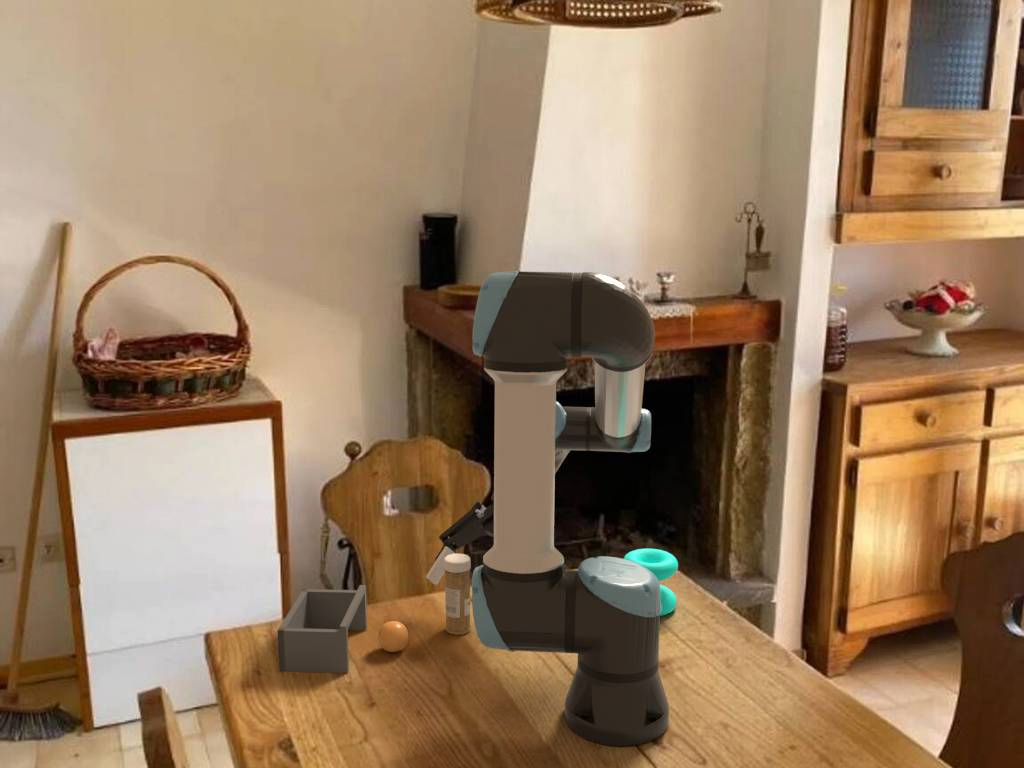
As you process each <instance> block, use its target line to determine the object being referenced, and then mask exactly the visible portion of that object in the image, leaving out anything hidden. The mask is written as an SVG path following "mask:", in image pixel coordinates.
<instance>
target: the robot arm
mask: <svg viewBox="0 0 1024 768" xmlns="http://www.w3.org/2000/svg"><path fill="white" fill-rule="evenodd" d="M474 312H475V313H474V316H473V317H474V318H473V325H472V335H471V336H472V348H471V349H472V352H473V355H475V356H478V357H483V370H484V372H486V373H487V374H488V376H489V377H490V378H492V380H493V381H494V442H493V443H494V450H493V453H494V455H493V456H494V458H493V459H494V460H493V465H494V466H493V471H494V472H493V474H494V475H493V476H494V477H493V493H492V495H491V503H490V505H488V507H485V506H484V505H483V504H482V503H481V502H480V501H477V502H475V504H473V506H472V507H471V508H470V510H469V511H468V512H466V513H465V514H464V515H463V516H462V517H460V518H459V519H458V520H456V522H454V523H453V524H452V525H450V527H448V528H447V529H446V530H445V531H444V532H442V533H441V534H440V535H439V536H438V537H439V540H440V541H441V542H442V545H443V546H442V548H441V549H440V551H439V552H438V554H437V555H436V557H435V558H434V562H433V564H432V566H431V567H430V570H429V571H428V572H427V573H426V575H425V578H426V579H428V580H429V581H430V582H431V583H432V584H434V585H435V586H437V585H438V584H439V582H441V579H442V578H443V576H444V575H445V569H444V559H445V557H446V556H448V555H451V554H457V550H458V549H462V548H463V547H464V546H466V545H468V544H470V543H471V542H473V541H475V540H478V539H479V538H480V537H486V536H489V537H493V545H492V547H491V548H490V549H488V551H486V553H485V554H484V555H483V557H482V558H483V559H482V564H481V565H479V566H475V568H474V570H473V572H472V577H471V592H472V593H471V607H472V616H473V623H474V627H475V632H476V635H477V637H478V639H479V641H480V643H481V644H482V645H483V646H484V647H486V648H489V649H492V650H493V649H495V650H503V651H508V652H510V653H514V652H535V653H536V652H537V653H538V652H539V653H557V654H558V653H559V654H561V653H562V654H576V655H577V666H576V670H575V672H574V675H573V678H572V680H571V682H570V686H569V688H568V691H567V694H566V696H565V700H564V719H565V722H566V724H567V725H568V727H569V728H570V729H571V730H572V732H574V733H575V734H577V735H579V736H580V737H581V738H584V739H585V740H588V741H590V742H594V743H598V744H602V745H607V746H612V747H613V746H614V747H629V746H631V747H632V746H638V745H643V744H647V743H649V742H652V741H654V740H656V739H658V738H660V737H661V736H662V735H663V734H664V733H665V732H666V731H667V729H668V727H669V723H670V722H669V721H670V705H669V702H668V699H667V696H666V695H667V694H666V691H665V688H664V685H663V682H662V679H661V676H660V673H659V661H660V660H659V659H660V658H659V656H660V618H661V616H660V614H661V612H662V605H661V601H660V585H661V584H660V581H658V579H657V578H656V576H655V575H654V574H653V573H652V572H651V571H650V570H648V569H647V568H645V567H643V566H642V565H640V564H638V563H635V562H633V561H629V560H626V559H624V558H621V557H615V556H607V555H605V556H603V555H602V556H601V555H600V556H599V555H598V556H595V557H588V558H586V559H584V560H582V562H581V563H580V564H579V566H578V568H577V569H576V570H573V569H565V557H564V555H563V554H562V553H561V552H560V551H559V550H558V549H557V548H556V547H555V544H554V543H555V535H554V534H555V528H554V527H555V489H556V487H555V483H556V482H555V480H556V479H555V477H556V474H557V471H558V470H559V468H560V467H561V465H562V463H563V462H564V460H565V459H566V457H567V456H568V454H569V453H570V452H571V451H585V452H586V451H592V452H594V451H595V452H613V453H614V452H616V453H620V452H621V453H625V454H626V453H628V454H631V453H636V452H637V453H640V452H642V453H643V452H646V451H648V450H650V448H651V439H652V437H651V436H652V413H651V412H650V410H648V409H646V408H643V407H642V406H643V397H644V396H643V395H644V387H645V385H644V384H645V374H646V364H647V363H648V361H649V360H650V359H651V357H652V355H653V353H654V348H655V343H656V341H655V340H656V330H655V325H654V322H653V319H652V316H651V314H650V312H649V310H648V308H647V307H646V305H645V304H644V303H643V301H642V300H641V299H640V298H639V297H638V296H637V294H635V292H634V291H632V290H631V289H630V288H629V287H628V286H626V285H625V284H623V283H622V282H620V281H618V280H617V279H615V278H613V277H611V276H608V275H606V274H603V273H598V272H593V271H592V272H589V271H588V272H587V271H584V272H567V271H566V272H565V271H564V272H563V271H522V270H516V271H500V272H493V273H491V274H488V275H487V276H486V277H485V278H484V280H483V282H482V283H481V287H480V289H479V293H478V297H477V302H476V306H475V311H474ZM568 358H591V359H592V360H593V361H594V400H595V401H594V403H595V406H594V407H593V406H592V407H591V406H589V407H588V406H587V407H585V406H562V405H561V403H559V401H557V383H558V380H560V378H561V377H562V376H563V375H564V374H565V373H566V372H567V371H568Z"/></svg>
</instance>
